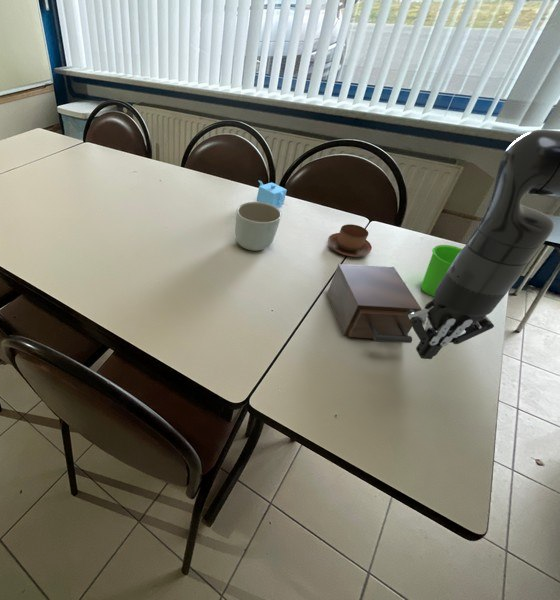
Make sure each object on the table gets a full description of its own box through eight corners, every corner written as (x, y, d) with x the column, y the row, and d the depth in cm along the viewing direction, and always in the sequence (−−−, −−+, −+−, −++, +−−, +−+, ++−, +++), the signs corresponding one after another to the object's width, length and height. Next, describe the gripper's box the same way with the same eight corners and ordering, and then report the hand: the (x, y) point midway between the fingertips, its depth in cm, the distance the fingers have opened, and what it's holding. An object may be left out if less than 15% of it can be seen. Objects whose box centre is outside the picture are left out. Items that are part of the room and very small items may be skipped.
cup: (414, 296, 93) (435, 261, 85) (410, 276, 99) (430, 241, 92) (455, 305, 90) (481, 269, 83) (448, 284, 96) (472, 249, 89)
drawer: (413, 357, 76) (430, 333, 72) (356, 354, 77) (369, 329, 72) (380, 299, 90) (393, 275, 85) (332, 296, 91) (342, 273, 86)
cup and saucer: (329, 234, 115) (336, 216, 111) (371, 244, 111) (379, 226, 107) (322, 253, 107) (329, 235, 103) (367, 264, 103) (375, 246, 99)
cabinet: (402, 339, 82) (421, 308, 75) (343, 335, 82) (358, 305, 76) (378, 296, 93) (393, 266, 87) (326, 293, 94) (338, 263, 87)
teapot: (249, 199, 133) (252, 179, 128) (261, 195, 135) (265, 176, 130) (273, 213, 125) (278, 192, 120) (286, 208, 128) (291, 188, 123)
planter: (271, 235, 115) (279, 203, 107) (275, 257, 105) (283, 224, 98) (231, 232, 116) (236, 200, 109) (231, 254, 107) (236, 220, 100)
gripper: (444, 290, 51) (393, 369, 63) (544, 296, 50) (474, 374, 62) (420, 260, 57) (377, 337, 68) (510, 264, 56) (451, 342, 67)
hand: (423, 355), depth 65 cm, fingers closed
